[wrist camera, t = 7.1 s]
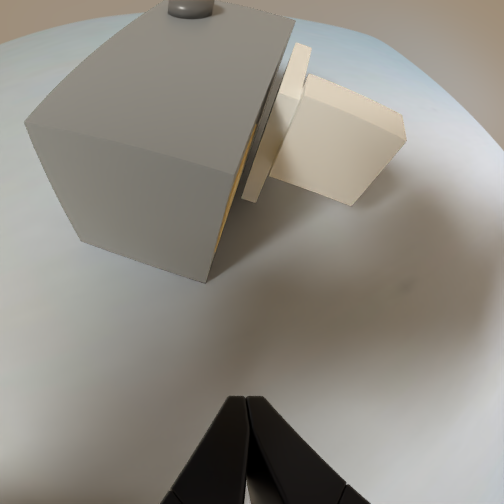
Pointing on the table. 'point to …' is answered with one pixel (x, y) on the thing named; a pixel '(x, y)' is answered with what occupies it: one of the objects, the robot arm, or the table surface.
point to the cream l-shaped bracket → (323, 137)
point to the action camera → (161, 130)
